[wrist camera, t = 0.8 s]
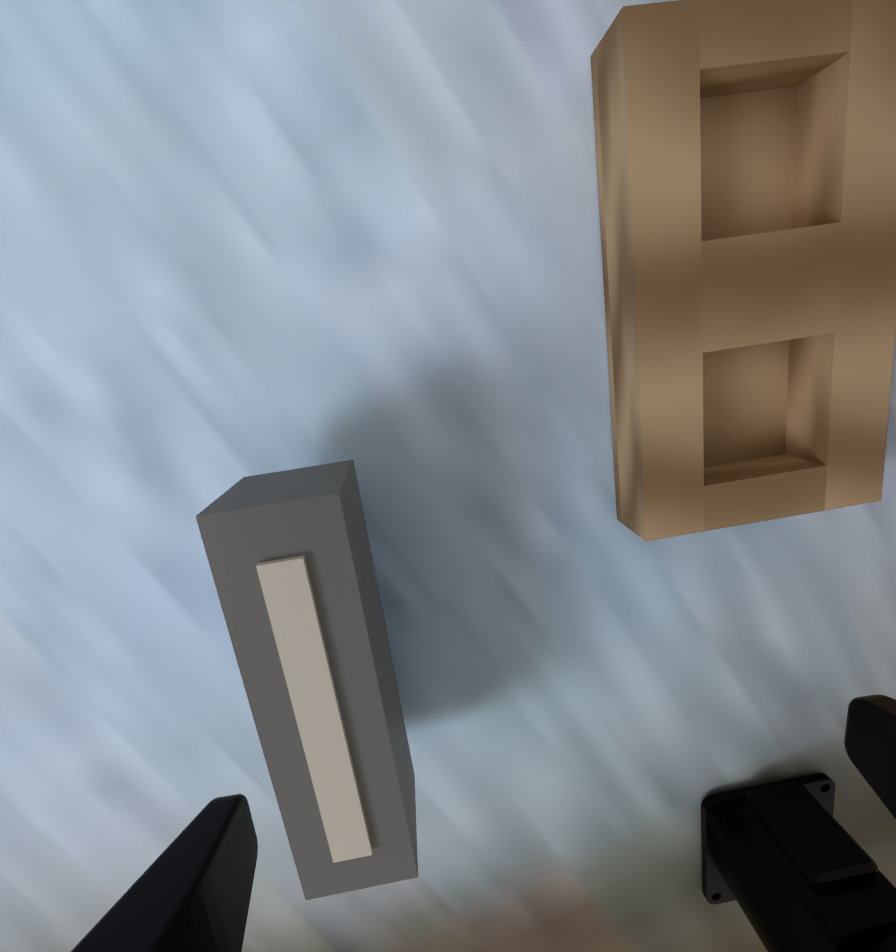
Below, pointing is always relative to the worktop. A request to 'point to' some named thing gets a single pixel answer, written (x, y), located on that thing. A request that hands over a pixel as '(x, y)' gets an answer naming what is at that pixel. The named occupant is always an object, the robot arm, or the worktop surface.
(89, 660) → the worktop surface
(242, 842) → the robot arm
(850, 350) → the socket board
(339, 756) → the grey block
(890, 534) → the worktop surface
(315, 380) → the worktop surface
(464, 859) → the worktop surface
